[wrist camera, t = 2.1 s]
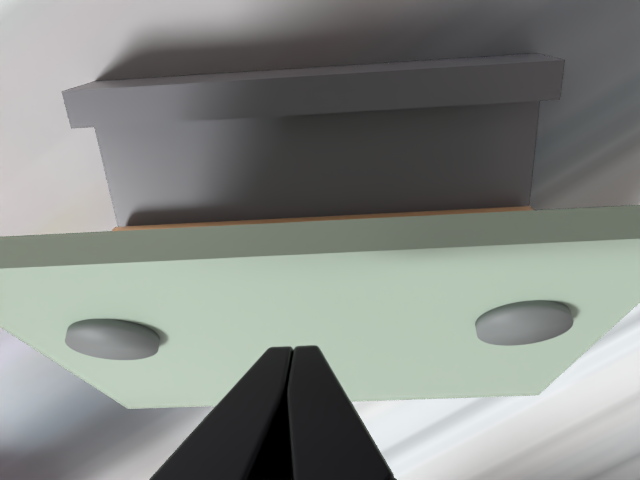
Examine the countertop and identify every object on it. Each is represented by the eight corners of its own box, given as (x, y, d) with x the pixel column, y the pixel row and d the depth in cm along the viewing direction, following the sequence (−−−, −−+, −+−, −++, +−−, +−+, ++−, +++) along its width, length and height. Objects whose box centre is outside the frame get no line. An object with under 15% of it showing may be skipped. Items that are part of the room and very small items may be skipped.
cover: (533, 375, 21) (539, 403, 21) (131, 389, 22) (126, 416, 21) (697, 202, 11) (720, 248, 10) (-71, 240, 12) (-91, 285, 11)
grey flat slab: (508, 337, 23) (527, 373, 21) (155, 351, 24) (136, 387, 22) (536, 53, 19) (564, 59, 16) (93, 81, 19) (61, 91, 17)
